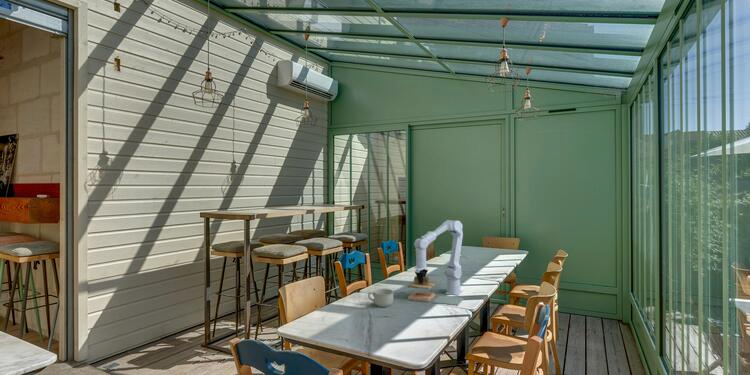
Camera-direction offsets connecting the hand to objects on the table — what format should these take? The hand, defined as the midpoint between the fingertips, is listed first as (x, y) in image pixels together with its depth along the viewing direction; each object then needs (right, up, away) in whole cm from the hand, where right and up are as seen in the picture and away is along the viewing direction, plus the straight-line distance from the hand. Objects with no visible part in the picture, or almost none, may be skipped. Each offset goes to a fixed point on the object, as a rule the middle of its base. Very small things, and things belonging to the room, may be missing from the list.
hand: (421, 282), depth 227 cm
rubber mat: (+14, -9, -7) cm, 18 cm away
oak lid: (0, -2, 0) cm, 2 cm away
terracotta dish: (0, -9, 0) cm, 9 cm away
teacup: (-24, -9, -13) cm, 29 cm away
